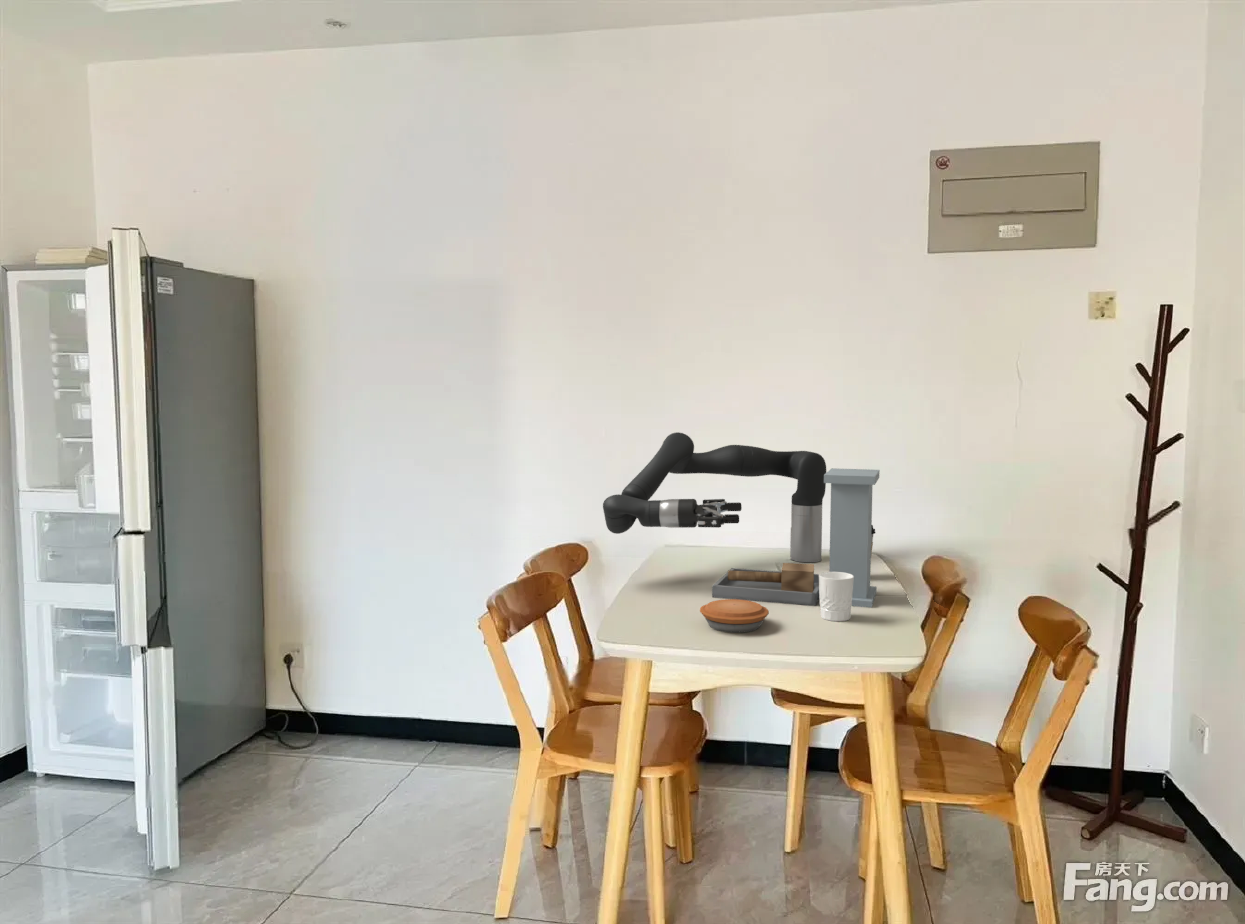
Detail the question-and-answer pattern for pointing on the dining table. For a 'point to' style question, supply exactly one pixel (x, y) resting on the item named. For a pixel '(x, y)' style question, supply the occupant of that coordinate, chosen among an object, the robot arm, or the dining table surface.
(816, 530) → the robot arm
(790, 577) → the mallet
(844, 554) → the pedestal
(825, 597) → the white cup
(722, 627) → the pie
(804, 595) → the tray
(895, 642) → the dining table surface
